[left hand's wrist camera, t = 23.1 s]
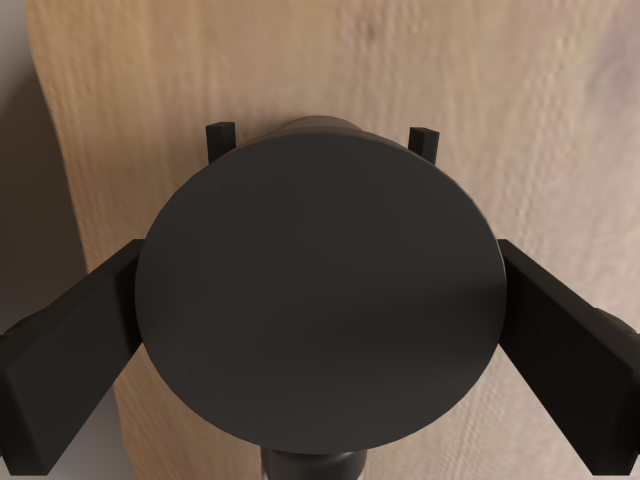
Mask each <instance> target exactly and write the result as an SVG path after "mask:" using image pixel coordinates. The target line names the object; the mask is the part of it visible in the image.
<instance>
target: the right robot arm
mask: <svg viewBox="0 0 640 480" xmlns="http://www.w3.org/2000/svg"><path fill="white" fill-rule="evenodd" d="M206 135H207V147H208V159H209V164H211V163H212V162H214V161H215V160H217V159H218V158H220V157H221V156H223V155H224V154H226V153H228V152H229V151H231V150H232V149H234V148H236V139H235V122H219V123H215V124H212V125H208V126H206ZM438 140H439V132H436V131H433V130H430V129H427V128H417V127H410V134H409V143H408V150H410V151H412V152H414V153H416V154H417V155H419V156H420V157H422V158H424V159H425V160H427V161H428V162H430V163H432V164H433V165H435V162H436V154H437V147H438ZM260 449H261V472H262V480H364V477H365V462H366V456H367V449H366V450H361V451H356V452H348V453H340V454H302V453H293V452H286V451H280V450H275V449H271V448H267V447H263V446H260Z"/></svg>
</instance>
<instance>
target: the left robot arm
mask: <svg viewBox="0 0 640 480" xmlns="http://www.w3.org/2000/svg"><path fill="white" fill-rule="evenodd" d="M144 242H145V239H133V240H132V241H131V242H129V243H128V244H127V245H126V246H124V247H123V248H122V249H120V250H119V251H118V252H117V253H115V254H114V255H113V256H112V257H110V258H109V259H108V260H106V261H105V262H104V263H103V264H101V265H100V266H99V267H97V268H96V269H95V270H94V271H92V272H91V273H90V274H88V275H87V276H86V277H85V278H83V279H82V280H81V281H80V282H78V283H77V284H76V285H74V286H73V287H72V288H71V289H69V290H68V291H67V292H66V293H64V294H63V295H62V296H60V297H59V298H58V299H56V300H55V301H54V302H53V303H51V304H50V305H49V306H48V307H46V308H45V309H42V310H40V311H38V312H36V313H34V314H32V315H30V316H28V317H26V318H24V319H22V320H20V321H19V322H18V323H16V324H15V325H14V326H12V327H11V328H10V329H8V330H7V331H6V332H5V333H4V335H0V457H1V456H2V457H3V459H4V461H5V464H6V466H7V468H8V470H9V473H10V475H12V476H14V475H15V476H16V475H20V476H22V475H23V476H25V475H26V476H29V475H30V476H31V475H32V476H37V475H40V476H46V475H48V473H49V472H50V471H51V469H52V468H53V466H54V465H55V464H56V462H57V461H58V459H59V458H60V457H61V455H62V454H63V452H64V451H65V450H66V448H67V447H68V445H69V444H70V443H71V441H72V440H73V438H74V437H75V436H76V434H77V433H78V431H79V430H80V429H81V427H82V426H83V424H84V423H85V421H86V420H87V419H88V417H89V416H90V415H91V413H92V412H93V410H94V409H95V408H96V406H97V405H98V403H99V402H100V401H101V399H102V398H103V396H104V395H105V394H106V392H107V391H108V389H109V388H110V387H111V385H112V384H113V382H114V381H115V380H116V378H117V377H118V375H119V374H120V373H121V371H122V370H123V368H124V367H125V366H126V364H127V363H128V361H129V360H130V359H131V357H132V356H133V354H134V353H135V352H136V350H137V349H138V347H139V346H140V345H141V343H142V342H143V341H142V338H141V334H140V330H139V327H138V323H137V319H136V310H135V301H134V293H135V275H136V270H137V265H138V260H139V255H140V252H141V250H142V247H143V244H144ZM497 242H498V245H499V248H500V251H501V255H502V258H503V261H504V267H505V274H506V280H507V308H506V314H505V320H504V326H503V329H502V332H501V335H500V339H499V342H498V343H499V345H500V346H501V347H502V349H503V350H504V352H505V353H506V354H507V356H508V357H509V359H510V360H511V361H512V363H513V364H514V366H515V367H516V368H517V370H518V371H519V373H520V374H521V375H522V377H523V378H524V380H525V381H526V382H527V384H528V385H529V387H530V388H531V389H532V391H533V392H534V394H535V395H536V396H537V398H538V399H539V401H540V402H541V403H542V405H543V406H544V408H545V409H546V410H547V412H548V413H549V415H550V416H551V417H552V419H553V420H554V422H555V423H556V424H557V426H558V427H559V429H560V430H561V431H562V433H563V434H564V436H565V437H566V438H567V440H568V441H569V443H570V444H571V445H572V447H573V448H574V450H575V451H576V452H577V454H578V455H579V457H580V458H581V459H582V461H583V462H584V464H585V465H586V466H587V468H588V469H589V471H590V472H591V473H592V475H593V476H629V475H630V473H631V470H632V468H633V466H634V464H635V461H636V459H637V457H638V455H640V334H637V333H636V331H635V330H634V329H633V328H631V327H630V326H629V325H627V324H626V323H625V322H623V321H622V320H621V319H619V318H617V317H615V316H613V315H611V314H609V313H607V312H605V311H603V310H601V309H599V308H594V307H593V306H591V305H590V304H589V303H587V302H586V301H585V300H584V299H582V298H581V297H580V296H578V295H577V294H576V293H575V292H573V291H572V290H571V289H569V288H568V287H567V286H566V285H564V284H563V283H562V282H560V281H559V280H558V279H557V278H555V277H554V276H553V275H552V274H550V273H549V272H548V271H546V270H545V269H544V268H543V267H541V266H540V265H539V264H537V263H536V262H535V261H534V260H532V259H531V258H530V257H528V256H527V255H526V254H525V253H523V252H522V251H521V250H520V249H518V248H517V247H516V246H514V245H513V244H512V243H511V242H509V241H508V240H507V239H497Z"/></svg>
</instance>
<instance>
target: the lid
mask: <svg viewBox="0 0 640 480" xmlns="http://www.w3.org/2000/svg"><path fill="white" fill-rule="evenodd" d="M134 301H135V310H136V319H137V323H138V327H139V330H140V334H141V338H142V341H143V343H144V346H145V348H146V350H147V353H148V355H149V357H150V359H151V361H152V363H153V364H154V366H155V368H156V369H157V371H158V373H159V374H160V376H161V377H162V379H163V380H164V381H165V382H166V384H167V385H168V386H169V388H170V389H171V390H172V391H173V392H174V393H175V394H176V395H177V396H178V397H179V398H180V399H181V400H182V401H183V402H184V403H185V404H186V405H187V406H188V407H189V408H190V409H192V410H193V411H194V412H195V413H197V414H198V415H199V416H200V417H202V418H203V419H205V420H206V421H208V422H209V423H211V424H213V425H214V426H216V427H217V428H219V429H221V430H223V431H225V432H227V433H229V434H231V435H233V436H235V437H237V438H240V439H242V440H245V441H248V442H251V443H253V444H256V445H259V446H263V447H267V448H271V449H275V450H280V451H286V452H293V453H302V454H340V453H348V452H356V451H361V450H366V449H370V448H375V447H379V446H382V445H385V444H388V443H391V442H394V441H397V440H399V439H401V438H404V437H406V436H408V435H410V434H413V433H415V432H417V431H418V430H420V429H422V428H424V427H425V426H427V425H429V424H431V423H432V422H434V421H435V420H437V419H438V418H439V417H441V416H442V415H443V414H445V413H446V412H447V411H449V410H450V409H451V408H452V407H453V406H454V405H455V404H457V403H458V402H459V401H460V400H461V399H462V398H463V397H464V396H465V395H466V394H467V393H468V391H469V390H470V389H471V388H472V387H473V386H474V384H475V383H476V382H477V381H478V379H479V378H480V376H481V375H482V373H483V372H484V370H485V369H486V367H487V366H488V364H489V362H490V360H491V358H492V356H493V354H494V351H495V349H496V347H497V345H498V342H499V339H500V335H501V332H502V329H503V326H504V320H505V314H506V308H507V280H506V274H505V267H504V261H503V258H502V255H501V251H500V248H499V245H498V242H497V239H496V237H495V235H494V233H493V231H492V229H491V227H490V225H489V223H488V221H487V219H486V218H485V216H484V215H483V213H482V212H481V211H480V209H479V208H478V206H477V205H476V204H475V202H474V201H473V199H472V198H471V197H470V196H469V195H468V194H467V193H466V192H465V191H464V190H463V189H462V188H461V187H460V186H459V185H458V184H457V183H456V182H455V181H454V180H453V179H452V178H450V177H449V176H448V175H446V174H445V173H444V172H442V171H441V170H440V169H438V168H437V167H436V166H435V165H433V164H432V163H430V162H428V161H427V160H425V159H424V158H422V157H420V156H419V155H417V154H416V153H414V152H412V151H410V150H408V149H407V148H405V147H403V146H401V145H399V144H398V143H396V142H394V141H391V140H388V139H386V138H383V137H381V136H378V135H375V134H373V133H369V132H364V131H360V130H356V129H351V128H344V127H333V126H309V127H297V128H292V129H286V130H281V131H276V132H273V133H270V134H267V135H264V136H261V137H258V138H255V139H252V140H250V141H248V142H246V143H244V144H242V145H240V146H238V147H236V148H234V149H232V150H231V151H229V152H228V153H226V154H224V155H223V156H221V157H220V158H218V159H217V160H215V161H214V162H212V163H211V164H209V165H208V166H206V167H205V168H204V169H202V170H201V171H199V172H198V173H196V174H195V175H193V176H192V177H191V178H190V179H189V180H188V181H187V182H186V183H185V184H184V185H183V186H182V187H181V188H180V189H178V190H177V191H176V192H175V193H174V195H173V196H172V197H171V198H170V200H169V201H168V202H167V203H166V205H165V206H164V207H163V208H162V210H161V211H160V212H159V214H158V216H157V218H156V219H155V221H154V223H153V225H152V226H151V228H150V230H149V232H148V234H147V236H146V239H145V242H144V244H143V247H142V250H141V252H140V255H139V260H138V265H137V270H136V275H135V293H134Z"/></svg>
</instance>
